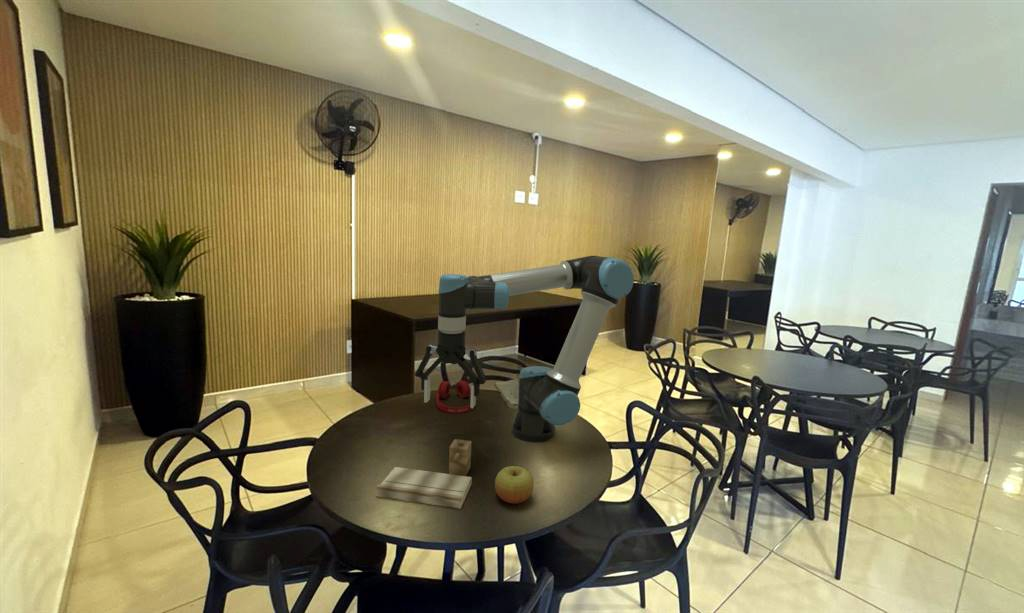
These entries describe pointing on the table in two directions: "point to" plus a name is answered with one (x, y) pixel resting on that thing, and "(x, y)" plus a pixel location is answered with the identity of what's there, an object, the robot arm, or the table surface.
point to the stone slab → (509, 392)
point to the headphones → (461, 390)
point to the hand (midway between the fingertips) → (449, 403)
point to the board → (425, 487)
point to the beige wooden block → (460, 457)
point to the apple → (514, 484)
